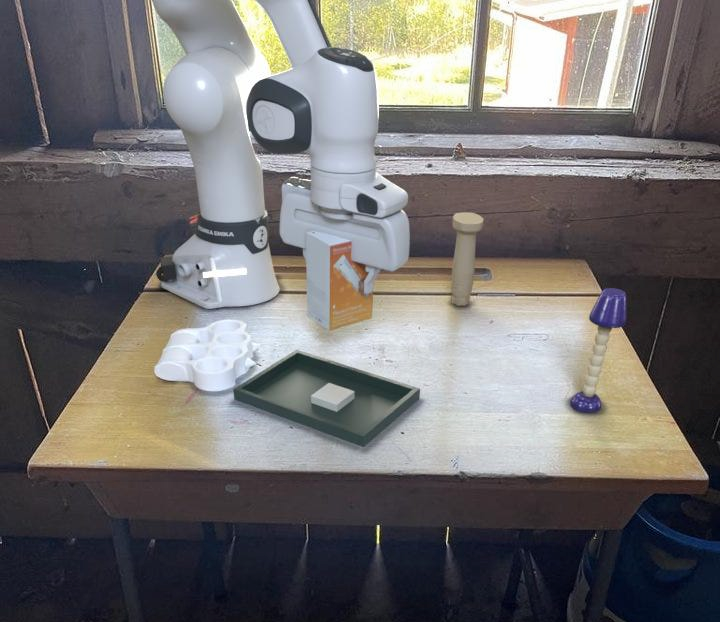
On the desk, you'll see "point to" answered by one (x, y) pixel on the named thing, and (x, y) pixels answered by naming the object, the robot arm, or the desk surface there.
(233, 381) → the white brass knuckles
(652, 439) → the desk surface
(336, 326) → the small box
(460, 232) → the handle
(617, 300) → the toy lamp
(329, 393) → the chalk block
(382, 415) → the tray
